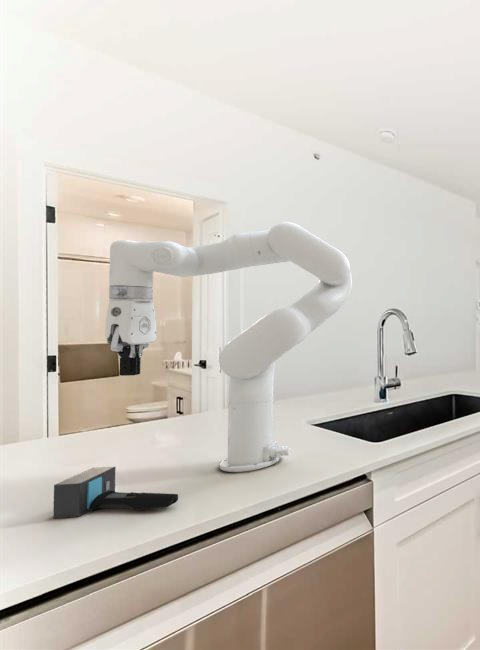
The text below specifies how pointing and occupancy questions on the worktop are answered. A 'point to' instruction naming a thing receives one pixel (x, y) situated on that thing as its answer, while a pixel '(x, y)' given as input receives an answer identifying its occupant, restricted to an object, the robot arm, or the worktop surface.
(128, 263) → the robot arm
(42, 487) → the worktop surface
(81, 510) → the dark grey box
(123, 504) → the electric trimmer
